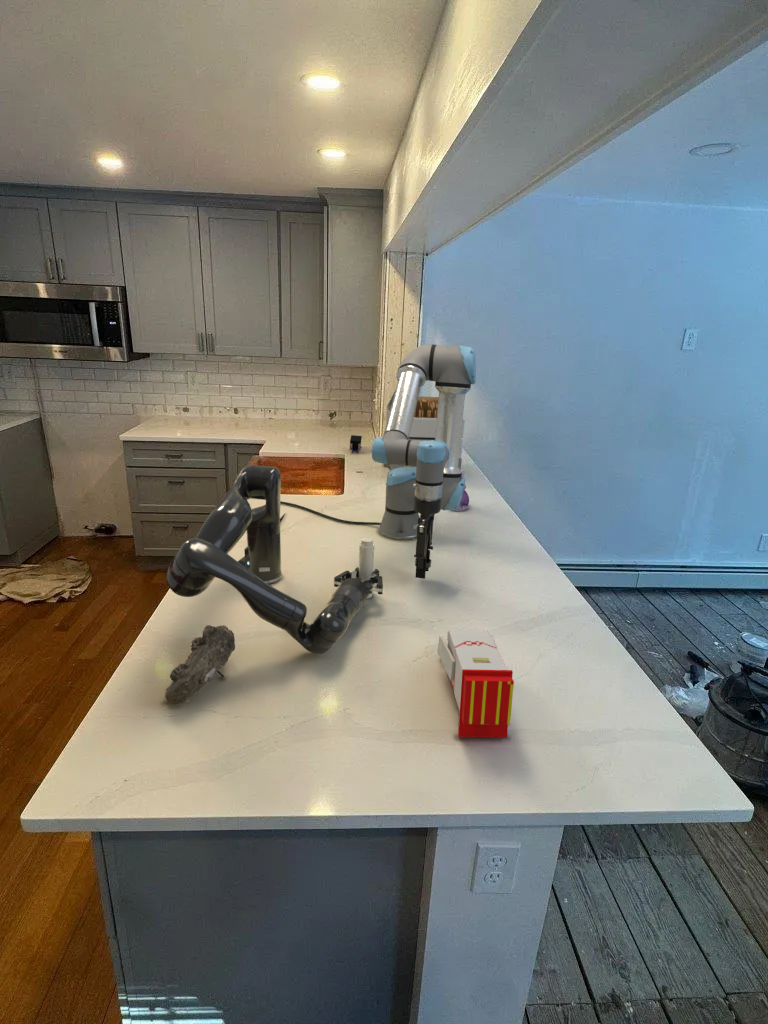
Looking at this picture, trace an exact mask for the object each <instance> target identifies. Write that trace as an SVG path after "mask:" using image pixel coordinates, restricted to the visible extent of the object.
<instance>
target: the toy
mask: <svg viewBox="0 0 768 1024" xmlns="http://www.w3.org/2000/svg"><path fill="white" fill-rule="evenodd" d="M446 640H447V643H446V641H445V639H444V636H443V635H442V634H439V637H438V646H437V656H438V657H439V659H440V661H441V663H442V666H443V668H444V670H445V672H446V674H447V677H448V679H449V681H450V684H451V687H452V690H453V693H454V697H455V701H456V705H457V708H458V711H459V714H458V715H459V716H458V730H457V731H458V732H457V737H458V738H508V731H509V726H510V725H511V717H512V707H513V697H514V696H513V695H514V684H515V680H514V679H513V673H514V671H513V670H512V669H508V667H507V665H506V662H505V661H504V659H503V658H502V655H501V653H500V651H499V649H498V647H497V643H496V639H495V637H494V635H493V634H491V632H490V631H489V629H467V628H466V629H465V628H463V629H461V628H460V629H459V628H448V630H447V639H446Z"/></svg>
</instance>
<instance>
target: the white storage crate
mask: <svg viewBox="0 0 768 1024" xmlns="http://www.w3.org/2000/svg"><path fill="white" fill-rule="evenodd" d="M395 391H396V389H395V390H394V392H393V394H392V395H391V398H390V400H389V402H388V404H387V405H386V413H385V414H386V415H385V423H386V424H387V420H388V416H389V413H390V409H391V405H392V402H393V398H394V394H395ZM438 400H439V396H419V397H418V401H417V405H416V410H415V414H414V418H413V422H412V426H411V430H410V435H409V439H408V440H415V441H433V440H435V433H436V422H437V411H438ZM464 429H465V419H464V418H463V421H462V431H461V441H460V451H459V461H458V468H459V469H460V470H461V471H462V461H463V460H462V453H463V442H464V441H463V440H462V439H463V438H464V431H465V430H464ZM383 466H384V467H388V468H389V472H390V471H391V470H393V469H396V468H401V467H405V465H394V464H383Z"/></svg>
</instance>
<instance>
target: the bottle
mask: <svg viewBox="0 0 768 1024" xmlns="http://www.w3.org/2000/svg"><path fill="white" fill-rule="evenodd" d="M373 539H374V538H371V537H362V538H361V540H360V541H361V542H360V543H359V546H358V567H359V574H358V578H363V579H364V578H365V577H367V576H371V575H372V573H373V572H374V565H375V563H374V562H375V543H374V540H373ZM372 597H373V592H372V593H371V594H369V595H368V597H367V599H370V598H372Z"/></svg>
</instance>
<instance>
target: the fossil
mask: <svg viewBox="0 0 768 1024" xmlns="http://www.w3.org/2000/svg"><path fill="white" fill-rule="evenodd" d="M201 634H202V635H201V636H198V637H197V636H196V637H195V638H193V639H192V641H191V644H190V651H191V652H190V653H189V655H188V656H187V658H186V660H185V663H179V664H178V665H177V666H175V667H174V668H173V670H171V671H170V674H169V679H170V680H171V681H172V682H171V683H170V685H169V686H168V687H166V689H165V701H166V702H167V703H170V704H172V705H177V704H178V705H179V704H183V703H187V702H189V701H191V699H192V698H193V697H194V696H196V695H197V694H198V693H199V692H200V691H201V690H202V689H203V688H205V687H206V686H207V685H208V684H209V683H210V682H211V680H212V678H213V677H214V676H215V675H217V674H218V675H219V676H220V677H221V678H222V679H224V678H225V676H224V675H225V674H223V673H222V672H221V671H220V669H221V667H223V666H225V665H226V664H227V662H228V661H229V658H230V657H231V655H232V653H233V651H235V649H236V643H235V642H236V640H235V633H234V632H233V630H231V629H229V627H228V626H226V625H225V624H224V625H221V624H220V625H217V626H213V625H211V624H210V625H209V624H208V625H205V626H204V629H203V630H202V633H201Z"/></svg>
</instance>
